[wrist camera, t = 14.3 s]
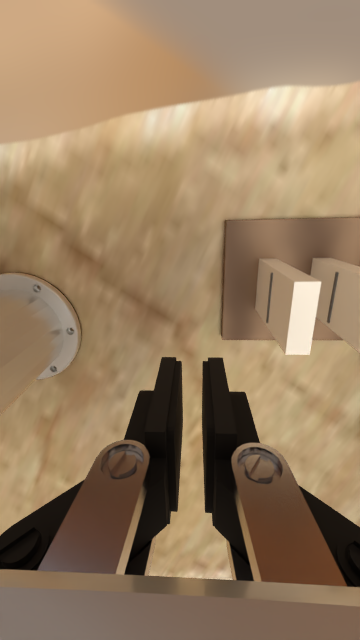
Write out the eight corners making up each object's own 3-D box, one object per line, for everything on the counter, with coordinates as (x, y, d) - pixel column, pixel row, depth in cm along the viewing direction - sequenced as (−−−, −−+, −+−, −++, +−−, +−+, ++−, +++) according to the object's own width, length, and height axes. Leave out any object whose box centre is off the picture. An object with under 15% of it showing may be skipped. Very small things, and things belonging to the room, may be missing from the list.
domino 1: (254, 308, 28) (283, 354, 19) (258, 258, 26) (293, 281, 17) (272, 308, 28) (310, 354, 18) (277, 258, 26) (323, 281, 17)
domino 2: (304, 308, 28) (360, 355, 18) (311, 258, 26) (377, 281, 17) (322, 308, 28) (388, 355, 18) (331, 257, 26) (408, 280, 16)
